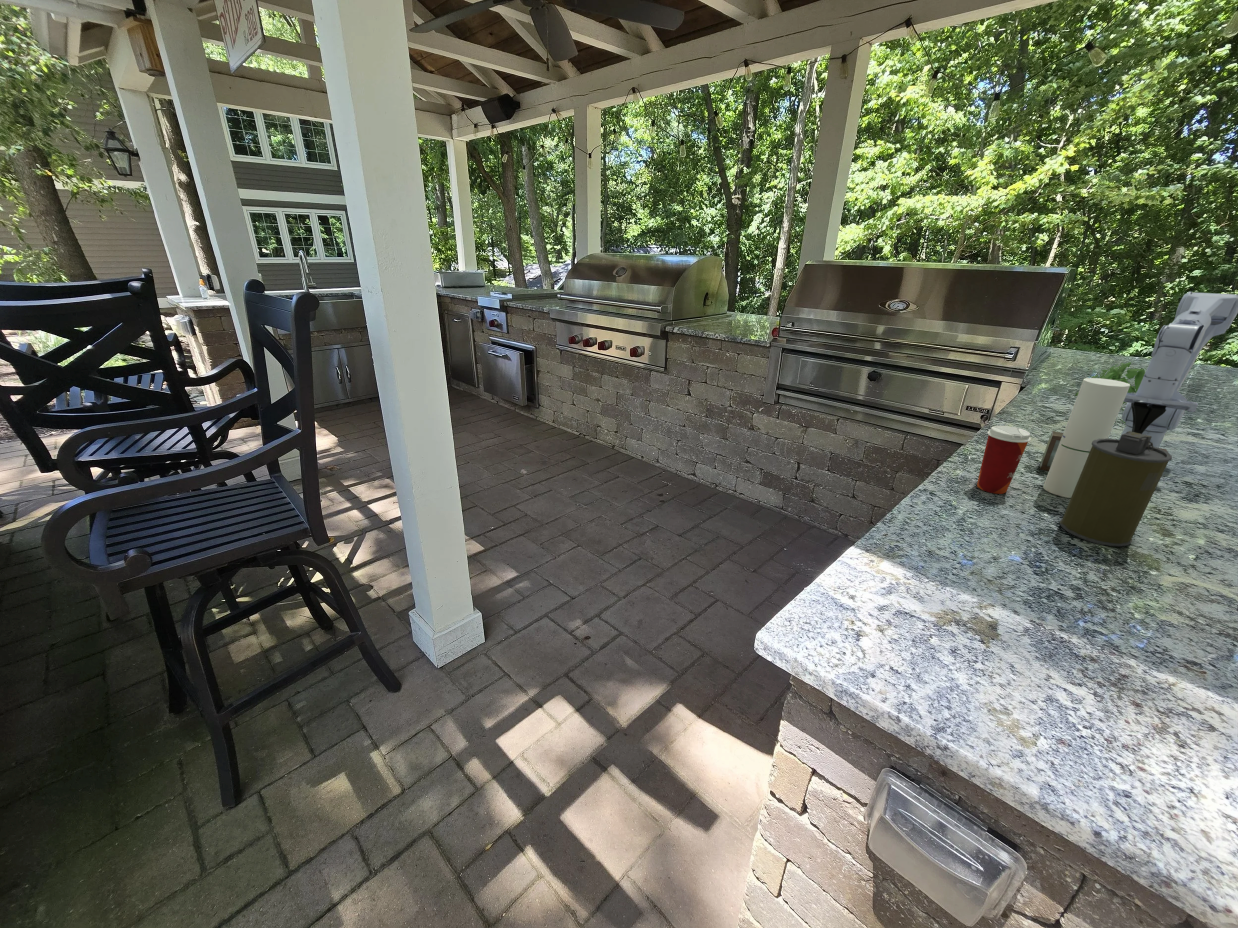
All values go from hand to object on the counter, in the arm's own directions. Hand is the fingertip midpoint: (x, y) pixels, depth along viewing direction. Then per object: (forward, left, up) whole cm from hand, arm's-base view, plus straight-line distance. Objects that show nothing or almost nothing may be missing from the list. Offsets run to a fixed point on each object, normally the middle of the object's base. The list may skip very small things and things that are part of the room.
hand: (1135, 434), depth 119 cm
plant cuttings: (-45, +2, -10) cm, 46 cm away
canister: (+42, -8, -10) cm, 43 cm away
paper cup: (+31, -25, -10) cm, 40 cm away
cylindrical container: (+23, -12, -10) cm, 27 cm away
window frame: (+9, -6, -9) cm, 14 cm away
